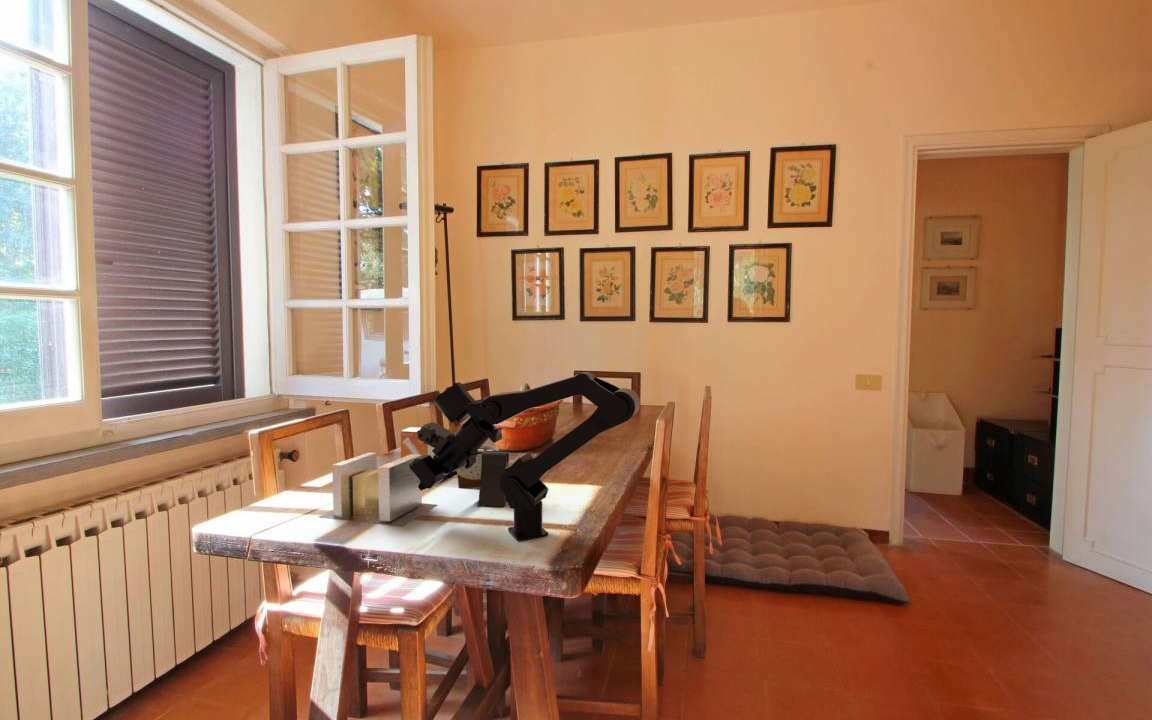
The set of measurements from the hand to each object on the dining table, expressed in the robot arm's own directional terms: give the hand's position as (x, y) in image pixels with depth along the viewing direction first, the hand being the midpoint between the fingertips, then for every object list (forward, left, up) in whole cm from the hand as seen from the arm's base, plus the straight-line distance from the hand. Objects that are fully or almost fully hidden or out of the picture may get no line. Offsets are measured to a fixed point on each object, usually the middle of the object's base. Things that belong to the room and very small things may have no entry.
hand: (420, 488), depth 114 cm
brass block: (+8, +10, -6) cm, 14 cm away
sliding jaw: (+3, +4, -6) cm, 7 cm away
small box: (+38, -6, -7) cm, 40 cm away
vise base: (+6, +8, -7) cm, 12 cm away
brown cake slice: (+22, -17, -7) cm, 29 cm away
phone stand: (+7, -18, -7) cm, 21 cm away
